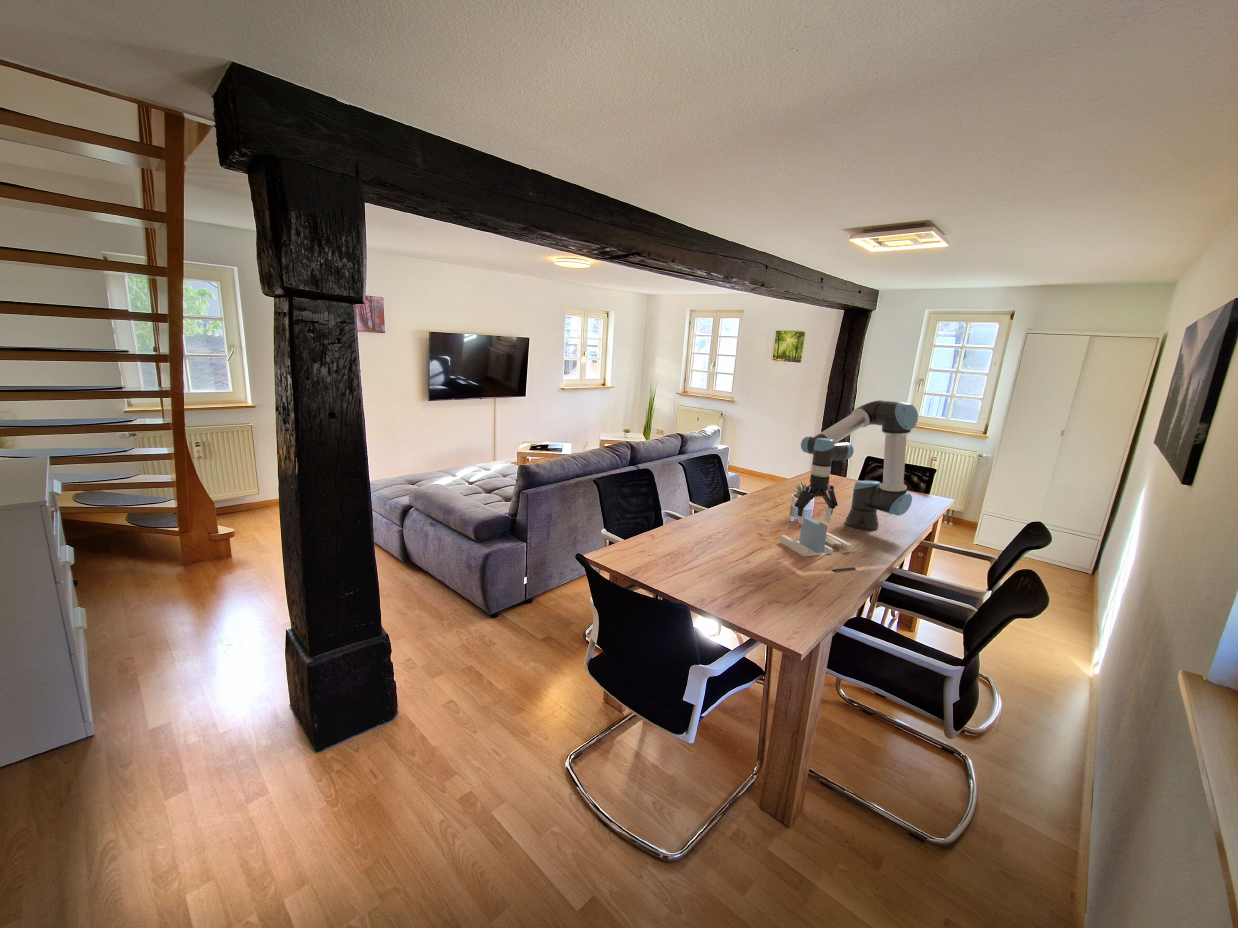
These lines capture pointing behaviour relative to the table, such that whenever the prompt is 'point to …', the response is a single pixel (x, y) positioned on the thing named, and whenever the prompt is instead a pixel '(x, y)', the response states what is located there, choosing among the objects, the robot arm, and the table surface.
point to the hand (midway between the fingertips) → (813, 522)
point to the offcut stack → (834, 544)
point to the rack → (808, 552)
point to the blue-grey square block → (813, 534)
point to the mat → (844, 570)
